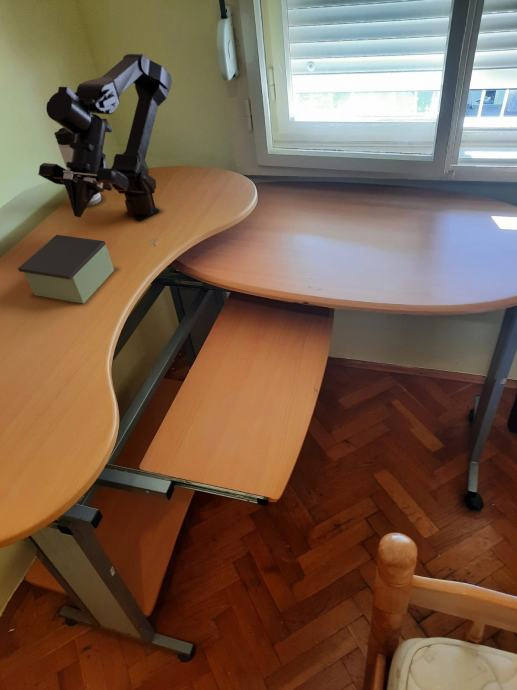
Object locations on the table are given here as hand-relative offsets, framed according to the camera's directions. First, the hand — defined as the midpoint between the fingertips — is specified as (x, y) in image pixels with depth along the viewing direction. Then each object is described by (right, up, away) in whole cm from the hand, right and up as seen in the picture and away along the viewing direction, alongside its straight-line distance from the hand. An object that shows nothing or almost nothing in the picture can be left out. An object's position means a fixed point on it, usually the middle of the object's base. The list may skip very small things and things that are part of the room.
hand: (77, 216), depth 99 cm
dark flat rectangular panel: (-2, -9, -2) cm, 10 cm away
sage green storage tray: (-2, -14, +3) cm, 14 cm away
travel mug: (-8, +13, +31) cm, 35 cm away
